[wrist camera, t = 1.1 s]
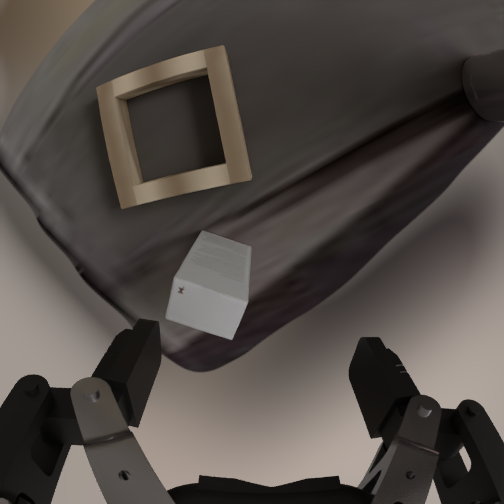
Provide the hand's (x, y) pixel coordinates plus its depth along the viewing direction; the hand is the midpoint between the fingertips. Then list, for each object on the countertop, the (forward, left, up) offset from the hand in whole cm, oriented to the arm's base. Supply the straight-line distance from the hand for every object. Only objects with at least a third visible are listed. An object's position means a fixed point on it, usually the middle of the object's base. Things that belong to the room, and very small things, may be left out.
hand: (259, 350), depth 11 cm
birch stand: (+7, -11, -22) cm, 26 cm away
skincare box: (+5, +4, -22) cm, 23 cm away
